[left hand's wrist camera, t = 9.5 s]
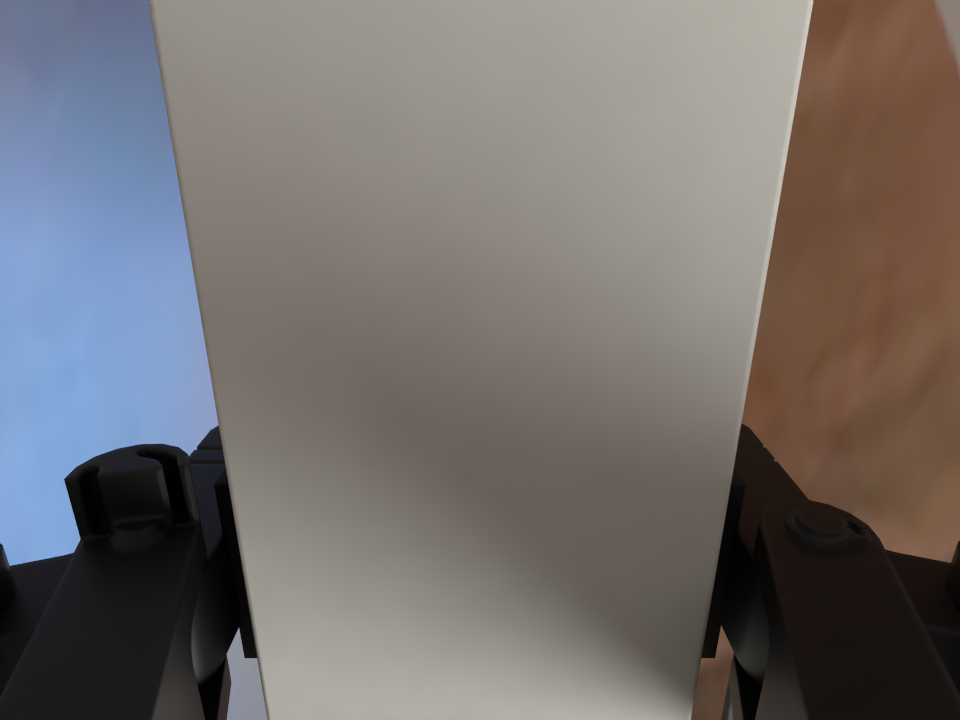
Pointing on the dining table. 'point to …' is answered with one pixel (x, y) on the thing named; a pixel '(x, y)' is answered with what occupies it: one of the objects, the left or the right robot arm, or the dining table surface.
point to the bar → (480, 333)
